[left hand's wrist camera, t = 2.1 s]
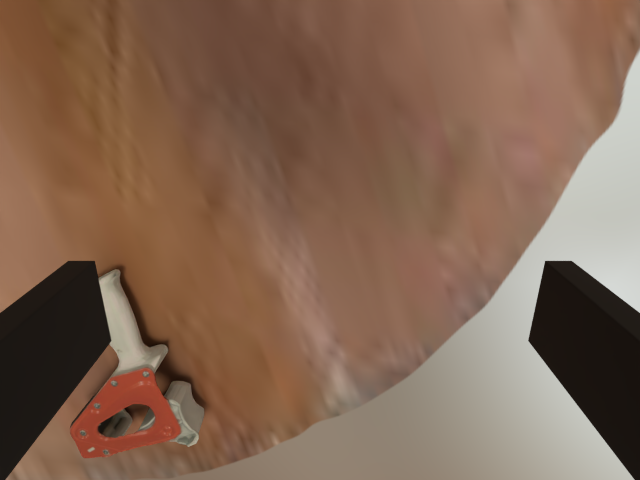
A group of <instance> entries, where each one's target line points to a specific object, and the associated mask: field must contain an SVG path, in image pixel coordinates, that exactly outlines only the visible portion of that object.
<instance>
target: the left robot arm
mask: <svg viewBox="0 0 640 480" xmlns="http://www.w3.org/2000/svg"><path fill="white" fill-rule="evenodd" d="M111 341H112V340H111V335H110V331H109V326H108V321H107V317H106V312H105V307H104V302H103V298H102V293H101V288H100V284H99V279H98V274H97V270H96V265H95V261H68V262H66V263H65V264H64V265H63V266H61V267H60V268H59V269H57V270H56V271H55V272H53V273H52V274H51V275H49V276H48V277H47V278H46V279H44V280H43V281H42V282H40V283H39V284H38V285H36V286H35V287H34V288H32V289H31V290H30V291H29V292H27V293H26V294H25V295H23V296H22V297H21V298H19V299H18V300H17V301H15V302H14V303H13V304H12V305H10V306H9V307H8V308H6V309H5V310H4V311H2V312H1V313H0V480H5V479H6V478H7V477H8V475H9V474H10V473H11V472H12V470H13V469H14V468H15V466H16V465H17V464H18V462H19V461H20V460H21V458H22V457H23V456H24V455H25V453H26V452H27V451H28V449H29V448H30V447H31V445H32V444H33V443H34V442H35V440H36V439H37V438H38V436H39V435H40V434H41V432H42V431H43V430H44V428H45V427H46V426H47V425H48V423H49V422H50V421H51V419H52V418H53V417H54V415H55V414H56V413H57V411H58V410H59V409H60V408H61V406H62V405H63V404H64V402H65V401H66V400H67V398H68V397H69V396H70V394H71V393H72V392H73V391H74V389H75V388H76V387H77V385H78V384H79V383H80V381H81V380H82V379H83V378H84V376H85V375H86V374H87V372H88V371H89V370H90V368H91V367H92V366H93V364H94V363H95V362H96V361H97V359H98V358H99V357H100V355H101V354H102V353H103V351H104V350H105V349H106V347H107V346H108V345H109V344H110V342H111ZM528 341H529V342H530V344H531V345H532V346H533V347H534V349H535V350H536V351H537V353H538V354H539V355H540V357H541V358H542V359H543V360H544V362H545V363H546V364H547V366H548V367H549V368H550V370H551V371H552V372H553V374H554V375H555V376H556V378H557V379H558V380H559V381H560V383H561V384H562V385H563V387H564V388H565V389H566V391H567V392H568V393H569V394H570V396H571V397H572V398H573V400H574V401H575V402H576V404H577V405H578V406H579V408H580V409H581V410H582V411H583V413H584V414H585V415H586V417H587V418H588V419H589V421H590V422H591V423H592V425H593V426H594V427H595V428H596V430H597V431H598V432H599V434H600V435H601V436H602V438H603V439H604V440H605V442H606V443H607V444H608V445H609V447H610V448H611V449H612V451H613V452H614V453H615V455H616V456H617V457H618V458H619V460H620V461H621V462H622V464H623V465H624V466H625V468H626V469H627V470H628V472H629V473H630V474H631V475H632V477H633V478H634V479H635V480H640V313H639V312H638V311H636V310H635V309H634V308H632V307H631V306H630V305H628V304H627V303H626V302H625V301H623V300H622V299H621V298H619V297H618V296H617V295H615V294H614V293H613V292H611V291H610V290H609V289H608V288H606V287H605V286H604V285H602V284H601V283H600V282H598V281H597V280H596V279H594V278H593V277H592V276H591V275H589V274H588V273H587V272H585V271H584V270H583V269H581V268H580V267H579V266H577V265H576V264H575V263H574V262H572V261H545V265H544V270H543V274H542V279H541V284H540V288H539V293H538V298H537V303H536V307H535V312H534V317H533V321H532V326H531V331H530V335H529V340H528Z"/></svg>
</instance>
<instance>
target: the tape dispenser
mask: <svg viewBox="0 0 640 480" xmlns="http://www.w3.org/2000/svg"><path fill="white" fill-rule="evenodd" d="M120 273H121V272H120V270H117V269H115V270H113V271H111V272H109V273H107V274H105V275H103V276H101V277H99V278H98V279H99V284H100V288H101V293H102V298H103V302H104V307H105V312H106V317H107V321H108V326H109V331H110V335H111V340H112V341H111V342H110V346H111V347H112V348H113V349H114V350H115V351H116V353H117V355H118V357H119V365H118V367H117V369H116V370H115V371H114V372H113V374H112V375H111V377H110V378H109V379H108V381H107V382H106V383H105V384H104V385H103V387H102V388H101V389H100V390H99V392H98V393H97V394H96V395H95V396H93V397H92V398H91V399H90V401H89V402H88V403H87V404H86V406H85V407H84V408H83V409H82V411H81V412H80V413H79V415H78V416H77V417H76V418H75V420H74V421H73V422H72V424H71V426H70V434H71V436H72V438H73V439H74V441H75V442H76V445H77V447H78V449H79V451H80V453H81V455H82V457H83V458H94V457H101V456H102V457H109V456H111V455H113V454H117V453H118V452H122V451H126V450H130V449H133V448H137V447H141V446H146V445H152V444H157V443H162V442H167V441H172V442H173V441H175V442H178V443H179V444H183V445H187V446H188V447H189V446H191V445H193V444H196V443H197V441H198V439H199V435H198V434H199V430H200V427H201V424H202V421H203V418H204V408H203V407H201V406H199V405H198V404H197V403H196V402H195V400H194V399H193V396H192V392H191V384H190V383H187V382H184V381H173V382H171V384H170V386H169V388H168V390H167V392H166V394H165V395H164V396H163V395H162V393H161V391H160V389H159V388H158V386H157V383H156V379H155V375H154V373H155V372H156V370H157V369H158V367H159V365H160V364H161V362H162V360H163V359H164V357H165V356H166V354H167V353H168V348H167V346H166V345H163V344H160V345H156V346H152V347H148V346H146V345H145V344H144V343H143V342H142V339H141V336H140V332H139V329H138V325H137V322H136V319H135V316H134V314H133V311H132V309H131V306H130V304H129V301H128V299H127V297H126V295H125V293H124V291H123V289H122V287H121V284H120ZM132 404H144V405H147V406H149V407H150V408H149V410H148V412H147V414H146V416H145V418H144V421H143V422H142V424H141V426H140V428H139V430H138V431H137V432H135V433H134V434H128V435H126V436H124V434H125V433H126V431H127V430H128V428H129V426H130V425H131V423H132V421H133V420H132V417H131V416H130V415H129V413H127V412H126V410H125V409H124V408H126V407H128V406H129V405H132Z"/></svg>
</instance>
